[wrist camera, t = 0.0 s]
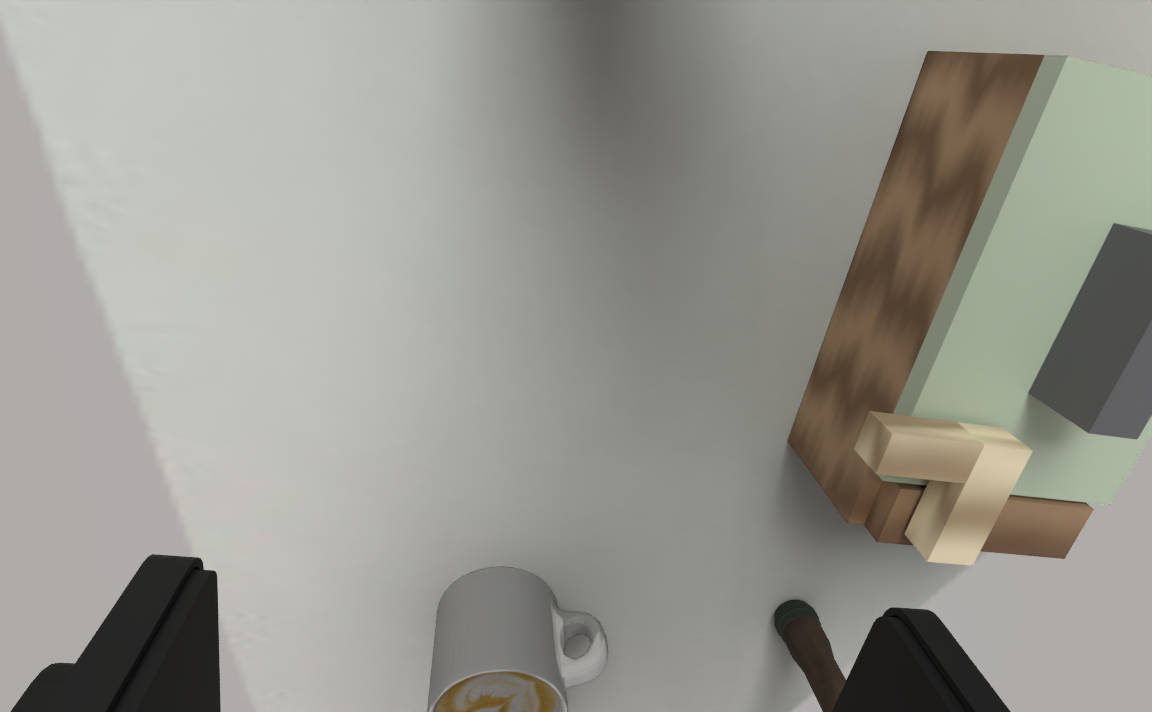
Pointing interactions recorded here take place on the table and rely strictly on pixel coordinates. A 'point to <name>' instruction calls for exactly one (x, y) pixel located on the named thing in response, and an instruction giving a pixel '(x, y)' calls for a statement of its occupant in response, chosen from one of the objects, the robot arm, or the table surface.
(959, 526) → the wooden l-shaped block
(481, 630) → the coffee mug
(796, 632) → the stick grenade
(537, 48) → the table surface
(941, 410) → the toolbox lid
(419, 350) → the table surface
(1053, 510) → the toolbox
